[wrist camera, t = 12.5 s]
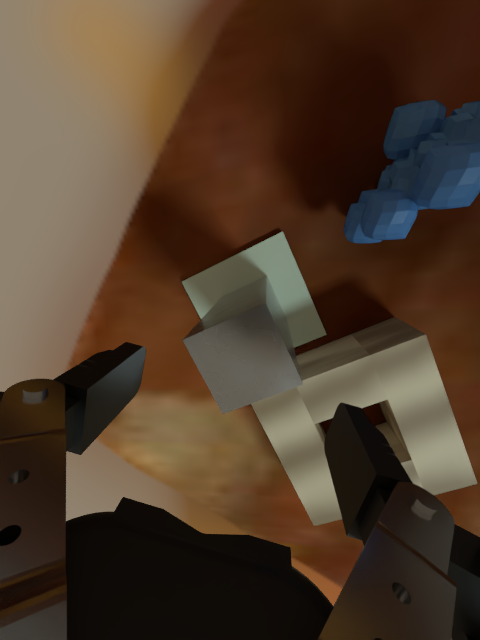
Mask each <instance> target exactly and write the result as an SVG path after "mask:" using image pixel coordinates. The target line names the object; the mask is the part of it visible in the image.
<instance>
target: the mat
mask: <svg viewBox="0 0 480 640" xmlns="http://www.w3.org/2000/svg"><path fill="white" fill-rule="evenodd" d="M265 276H267V277H268V279H269V281H270V283H271V285H272V288H273V290H274V292H275V294H276V297H277V299H278V301H279V303H280V305H281V308H282V310H283V312H284V314H285V317H286V319H287V321H288V325H289V329H290V333H291V337H292V341H293V345H294V348H295V347H297V346H300V345H302V344H305V343H307V342H310V341H312V340H315V339H317V338H320V337H322V336H325V335H327V334H326V332H325V329H324V327H323V325H322V322H321V320H320V318H319V315H318V313H317V311H316V308H315V306H314V304H313V301H312V299H311V296H310V294H309V292H308V289H307V287H306V285H305V282H304V280H303V278H302V275H301V273H300V271H299V268H298V266H297V264H296V261H295V259H294V257H293V254H292V252H291V250H290V247H289V245H288V243H287V240H286V238H285V236H284V233H283V231H282V232H280V233H278V234H276V235H274V236H272V237H270V238H268V239H266V240H264V241H262V242H260V243H258V244H256V245H254V246H252V247H250V248H248V249H246V250H244V251H242V252H240V253H238V254H236V255H234V256H232V257H230V258H228V259H226V260H224V261H222V262H220V263H218V264H216V265H214V266H212V267H210V268H208V269H206V270H204V271H202V272H200V273H198V274H196V275H194V276H192V277H190V278H188V279H186V280H184V281H182V284H183V286H184V288H185V290H186V292H187V293H188V295H189V297H190V299H191V301H192V303H193V305H194V307H195V309H196V311H197V312H198V314H199V316H200V318H201V319H202V318H203V317H204V316H205V315H206V314H207V312H208V311H209V310H210V309H211V308H212V307H213V306H214V305H215V304H216V302H217V301H218V300H219V299H220V298H221V297H222V296H224V295H226V294H228V293H231V292H233V291H235V290H237V289H239V288H241V287H243V286H246V285H248V284H250V283H252V282H254V281H256V280H259V279H261V278H263V277H265Z"/></svg>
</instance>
